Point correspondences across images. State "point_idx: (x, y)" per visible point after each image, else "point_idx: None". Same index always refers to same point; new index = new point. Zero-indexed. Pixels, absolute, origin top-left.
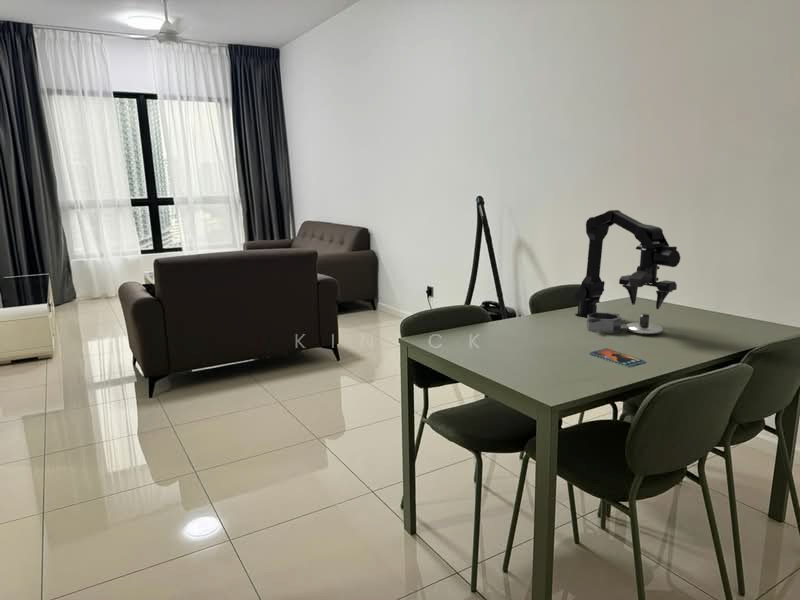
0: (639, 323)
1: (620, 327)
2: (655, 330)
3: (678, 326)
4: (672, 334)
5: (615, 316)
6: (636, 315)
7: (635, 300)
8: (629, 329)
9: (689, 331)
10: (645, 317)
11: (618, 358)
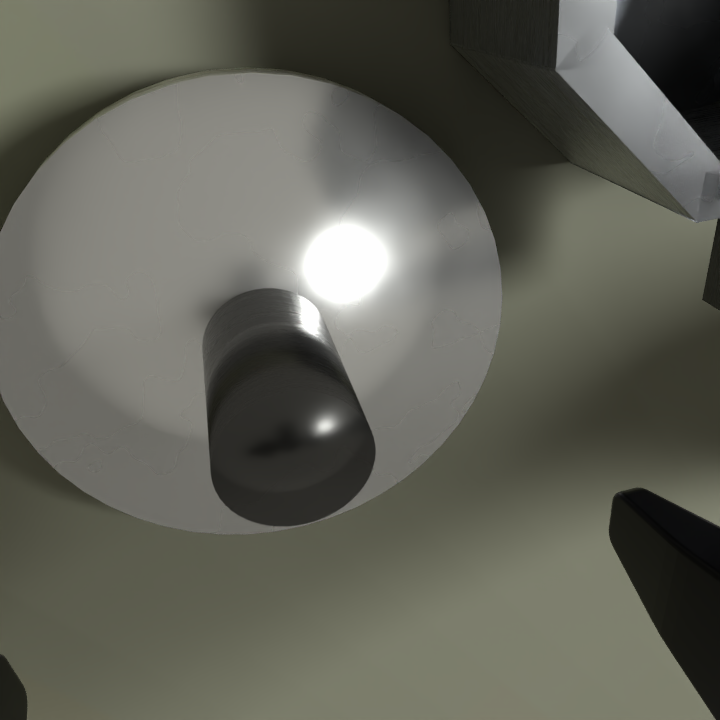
0: (420, 416)
1: (475, 43)
2: (9, 334)
3: (245, 713)
4: (6, 516)
5: (715, 158)
6: None
7: (659, 622)
8: (316, 79)
9: (50, 703)
10: (226, 403)
11: None
